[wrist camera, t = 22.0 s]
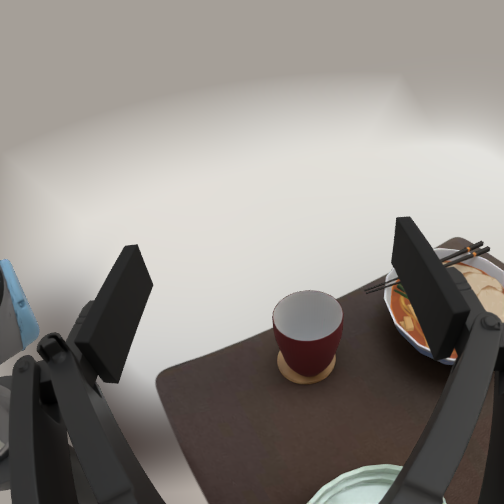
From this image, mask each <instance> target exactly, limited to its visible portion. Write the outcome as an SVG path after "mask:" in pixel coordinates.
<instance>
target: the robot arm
mask: <svg viewBox="0 0 504 504" xmlns="http://www.w3.org/2000/svg"><path fill="white" fill-rule="evenodd" d="M391 263H392V265H393V267H394V269H395V271H396V273H397V275H398V278H399V280H400V282H401V284H402V286H403V288H404V290H405V293H406V295H407V297H408V299H409V301H410V304H411V306H412V308H413V310H414V313H415V315H416V317H417V320H418V322H419V324H420V327H421V329H422V331H423V334H424V336H425V339H426V341H427V344H428V346H429V349H430V351H431V354H432V356H433V359H434V361H437V360H441V359H446V358H450V356H451V354H452V352H453V350H454V348H455V351H456V353H457V355H458V356H457V358H456V360H455V362H454V364H453V366H452V368H451V370H450V371H451V373H450V375H449V377H448V380H447V382H446V385H445V387H444V389H443V391H442V394H441V396H440V398H439V400H438V402H437V405H436V407H435V409H434V411H433V413H432V415H431V417H430V419H429V421H428V423H427V425H426V427H425V429H424V431H423V433H422V435H421V436H420V438H419V440H418V442H417V444H416V446H415V447H414V449H413V451H412V453H411V454H410V456H409V458H408V459H407V461H406V463H405V464H404V466H403V468H402V469H401V471H400V473H399V474H398V476H397V477H396V479H395V480H394V482H393V484H392V485H391V487H390V488H389V490H388V491H387V493H386V494H385V495H384V497H383V498H382V500H381V501H380V502H379V503H378V504H443V496H444V493H445V491H446V489H447V487H448V486H449V484H450V482H451V480H452V478H453V476H454V474H455V472H456V470H457V467H458V465H459V463H460V461H461V459H462V457H463V454H464V452H465V450H466V448H467V445H468V443H469V440H470V438H471V436H472V433H473V431H474V428H475V425H476V423H477V420H478V417H479V415H480V412H481V409H482V406H483V403H484V400H485V397H486V394H487V391H488V387H489V384H490V381H491V377H492V374H493V371H495V384H494V403H493V416H492V426H491V435H490V443H489V450H488V456H487V462H486V468H485V473H484V478H483V483H482V488H481V492H480V497H479V501H478V504H504V323H503V322H502V321H501V319H500V318H499V317H498V316H497V315H495V314H493V313H491V312H487V311H486V310H485V309H484V307H483V305H482V304H481V302H480V300H479V299H478V297H477V295H476V294H475V292H474V291H473V289H472V287H471V286H470V284H469V283H468V282H467V280H466V278H465V277H464V275H463V274H462V273H461V272H460V271H459V270H458V269H456V268H455V267H447V268H445V266H444V265H443V263H442V262H441V260H440V259H439V257H438V256H437V254H436V253H435V251H434V250H433V248H432V247H431V245H430V244H429V242H428V241H427V240H426V238H425V237H424V235H423V234H422V233H421V231H420V230H419V228H418V227H417V226H416V224H415V223H414V221H413V220H412V219H411V217H397V218H396V226H395V236H394V245H393V253H392V260H391ZM152 287H153V283H152V280H151V278H150V275H149V273H148V270H147V268H146V265H145V263H144V260H143V257H142V255H141V252H140V250H139V247H138V245H137V244H136V245H128V246H125V247H124V248H123V250H122V252H121V253H120V255H119V257H118V259H117V260H116V262H115V264H114V266H113V267H112V269H111V271H110V273H109V274H108V276H107V278H106V280H105V282H104V284H103V285H102V287H101V289H100V291H99V293H98V295H97V297H96V298H95V300H94V301H89V302H88V303H87V304H86V305H85V306H84V307H83V309H82V311H81V313H80V314H79V318H77V320H76V322H75V325H74V326H73V328H72V330H71V332H70V334H69V336H68V338H67V340H66V342H65V341H64V340H63V338H62V337H61V335H60V334H59V333H56V332H55V333H50V334H47V335H46V336H45V337H43V338H42V339H41V341H40V342H39V343H38V346H37V352H38V353H39V355H40V356H41V357H42V358H43V360H42V361H38V362H36V361H35V360H34V358H33V357H32V356H30V355H26V356H23V357H21V358H20V359H19V360H17V362H16V363H15V365H14V367H13V373H12V382H11V391H10V390H9V389H7V388H6V387H3V386H2V385H0V462H1V461H3V460H5V459H6V458H7V457H8V456H9V474H10V488H11V499H12V504H78V500H77V495H76V490H75V485H74V479H73V474H72V467H71V461H70V454H69V446H68V438H67V431H68V434H69V437H70V440H71V442H72V445H73V447H74V450H75V452H76V455H77V457H78V460H79V462H80V464H81V467H82V469H83V471H84V474H85V476H86V478H87V480H88V482H89V485H90V487H91V489H92V491H93V493H94V495H95V497H96V499H97V501H98V504H166V503H165V502H164V501H163V499H162V498H161V496H160V495H159V493H158V492H157V490H156V489H155V487H154V486H153V484H152V483H151V481H150V479H149V478H148V476H147V475H146V473H145V471H144V470H143V468H142V467H141V465H140V463H139V462H138V460H137V458H136V457H135V455H134V453H133V451H132V450H131V448H130V446H129V444H128V443H127V441H126V439H125V438H124V435H123V433H122V432H121V430H120V428H119V426H118V424H117V422H116V420H115V418H114V416H113V414H112V412H111V410H110V408H109V406H108V404H107V402H106V400H105V398H104V396H103V394H102V392H101V389H100V387H99V385H98V384H97V383H96V379H97V376H98V375H99V377H100V378H101V379H102V380H103V382H106V383H117V384H118V383H119V380H120V377H121V374H122V371H123V368H124V365H125V362H126V359H127V356H128V353H129V350H130V347H131V344H132V341H133V339H134V336H135V333H136V330H137V327H138V325H139V322H140V319H141V316H142V314H143V311H144V308H145V306H146V303H147V300H148V297H149V295H150V293H151V290H152ZM38 335H39V326H38V324H37V321H36V319H35V317H34V314H33V312H32V310H31V308H30V305H29V303H28V301H27V299H26V296H25V294H24V292H23V290H22V287H21V285H20V283H19V281H18V278H17V276H16V274H15V271H14V269H13V267H12V264H11V263H10V261H9V260H7V259H4V260H0V364H2V363H3V362H5V361H6V360H8V359H9V358H10V357H12V356H14V355H15V354H17V353H19V352H20V351H23V350H25V348H26V347H27V346H28V345H29V344H31V343H32V342H33V341H34V340H36V339H37V337H38Z"/></svg>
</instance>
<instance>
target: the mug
mask: <svg viewBox="0 0 504 504" xmlns="http://www.w3.org/2000/svg"><path fill="white" fill-rule="evenodd" d="M272 318H273V329H274V335H275V338H276V341H277V344H278V346H279V348H280V351H281V353H282V355H283V358H284V360H285V362H286V363H287V365H288V366H289V367H290V368H291V369H292V370H293V371H295V372H296V373H298V374H300V375H302V376H305V377H312V376H315V375H318V374H319V373H321V372H322V371H324V370H325V369H326V368H327V367H328V366H329V365H330V363H331V362H332V360H333V358H334V355H335V353H336V350H337V347H338V345H339V342H340V339H341V336H342V330H343V309H342V307H341V305H340V303H339V302H338V301H337V300H336V299H335V298H333V297H332V296H331V295H329V294H326V293H323V292H320V291H310V290H308V291H300V292H296V293H293V294H290V295H288V296H286V297H285V298H283V299H282V300H281V301H280V302H279V303H278V304H277V305H276V307H275V309H274V311H273V316H272Z"/></svg>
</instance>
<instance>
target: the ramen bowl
mask: <svg viewBox="0 0 504 504" xmlns="http://www.w3.org/2000/svg"><path fill="white" fill-rule="evenodd" d="M481 246H483V242H482V241H480V242H478V243H476V244H473V245H471V246H469V247H468V248H465V249H462V250H452V249H443V248H437V249H433V250H434V251H435V253H436V254H437V256H438V257H439V259H440V260H441V262H442V263H443V265H444V266H445V268H447V267H455V268H456V269H458V270H459V271H460V272H461V273H462V274H463V275H464V277H465V278H466V280H467V282H468V283H469V284H470V286H471V287H472V289H473V291H474V292H475V294H476V295H477V297H478V299H479V300H480V302H481V304H482V305H483V307H484V309H485V310H486V311H487V312H491V313H493V314H495V315H497V316H498V317H499V318H500V319H501V321H502V322H503V323H504V271H503V270H501V269H500V268H498V267H497V266H496V265H494V264H493V263H491V262H490V261H488V260H487V259H484V258H482V257H479V256H478V255H481V254H484V253H486V252H489V251H490V247H488V246H487V247H485V248H483V249H480V250H478V251H476V252H474V253H468V251H471V250H474V249H476V248H478V247H481ZM384 284H385V286H384V287H381V288H378V289H375V290H372V291H370V292H367V293H366V294H368V293H371V292H374V291H378V290H381V289H384V288H385V294H384V300H385V302H386V304H387V307H388V309H389V311H390V314H391V316H392V318H393V321H394V323H395V326H396V328H397V330H398V331H399V332H400V334H401V335H402V336H403V337H404V338H405V339H406V340H407V341H408V342H409V343H410V344H411V345H412V346H413V347H414V348H416V349H417V350H418V351H419V352H420V353H421V354H424V355H426V356H428V357H430V358H432V359H433V356H432V354H431V351H430V349H429V346H428V344H427V341H426V339H425V336H424V334H423V331H422V329H421V327H420V324H419V322H418V320H417V317H416V315H415V313H414V310H413V308H412V306H411V304H410V301H409V299H408V297H407V295H406V293H405V290H404V288H403V286H402V284H401V282H400V280H399V278H398V275H397V273H396V271H395V269H394V267H393V269H392V270H391V271H390V272H389V274H388V275H387V276H386V282H384V283H381V284H379V285H376V286H374V287H371V288H369V289H366V290H364V291H367V290H370V289H373V288H376V287H379V286H381V285H384ZM457 356H458V355H457V353H456V351H455V348H454V350H453V352H452V354H451V356H450V358H446V359H441V360H437V361H438V362H441V363H443V364H446V365H453V364H454V362H455V360H456V358H457Z"/></svg>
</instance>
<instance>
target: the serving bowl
mask: <svg viewBox="0 0 504 504" xmlns="http://www.w3.org/2000/svg"><path fill="white" fill-rule="evenodd" d="M402 468H403V467H402V466H396V465H390V464H383V465H373V466H365V467H361V468H358V469H355V470H353V471H350V472H347V473H344V474H342V475H340V476H339V477H337V478H335V479H334V480H332V481H331V482H329V483H328V484H326V485H325V486H323V487H322V488H321V489H320V490H319V491H318V492H317V493H316V494H315V496H314V497H313V498H312V499H311V500H310V501H309V502H308V503H307V504H378V503H379V502H380V501H381V500H382V498H383V497H384V495H385V494H386V493H387V491H388V490H389V488H390V487H391V485H392V484H393V482H394V480H395V479H396V477H397V476H398V474H399V473H400V471H401V469H402ZM443 504H446V501H445V499H444V497H443Z"/></svg>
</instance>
